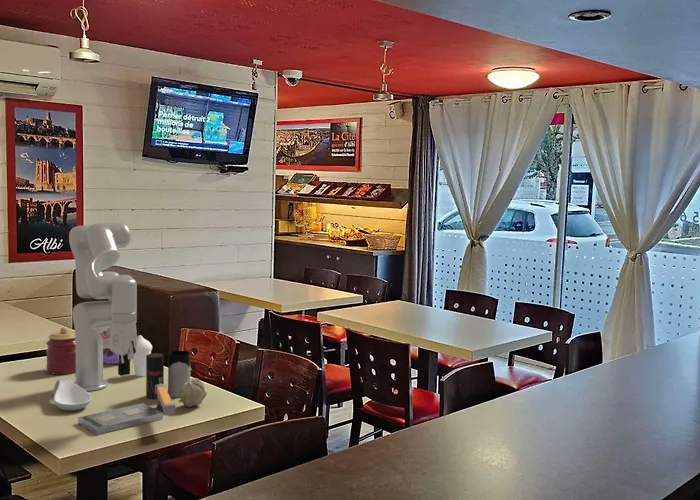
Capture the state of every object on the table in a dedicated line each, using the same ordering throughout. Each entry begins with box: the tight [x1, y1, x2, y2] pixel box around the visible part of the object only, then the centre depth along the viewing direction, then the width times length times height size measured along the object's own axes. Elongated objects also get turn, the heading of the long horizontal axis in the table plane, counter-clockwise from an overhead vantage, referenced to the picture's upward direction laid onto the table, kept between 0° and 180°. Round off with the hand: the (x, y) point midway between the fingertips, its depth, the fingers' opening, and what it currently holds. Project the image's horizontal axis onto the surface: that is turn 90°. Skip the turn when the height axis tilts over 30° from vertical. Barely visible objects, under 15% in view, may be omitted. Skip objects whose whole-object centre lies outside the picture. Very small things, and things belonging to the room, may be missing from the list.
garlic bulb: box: [177, 377, 208, 408], centre depth 232 cm, size 10×8×10 cm
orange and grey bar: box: [155, 383, 176, 416], centre depth 216 cm, size 4×24×3 cm, turn 22°
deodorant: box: [145, 352, 165, 400], centre depth 242 cm, size 6×6×15 cm
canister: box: [45, 326, 76, 375], centre depth 271 cm, size 13×13×18 cm
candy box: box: [96, 326, 118, 366], centre depth 286 cm, size 14×6×16 cm, turn 80°
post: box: [153, 395, 165, 416], centre depth 226 cm, size 6×6×6 cm
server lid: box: [77, 402, 164, 436], centre depth 216 cm, size 13×22×2 cm, turn 136°
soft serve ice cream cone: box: [132, 334, 153, 378], centre depth 268 cm, size 8×8×16 cm
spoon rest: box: [52, 378, 93, 412], centre depth 232 cm, size 24×12×7 cm, turn 38°
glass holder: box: [167, 350, 191, 398], centre depth 249 cm, size 9×14×15 cm, turn 12°
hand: (124, 374), depth 216 cm, fingers closed
